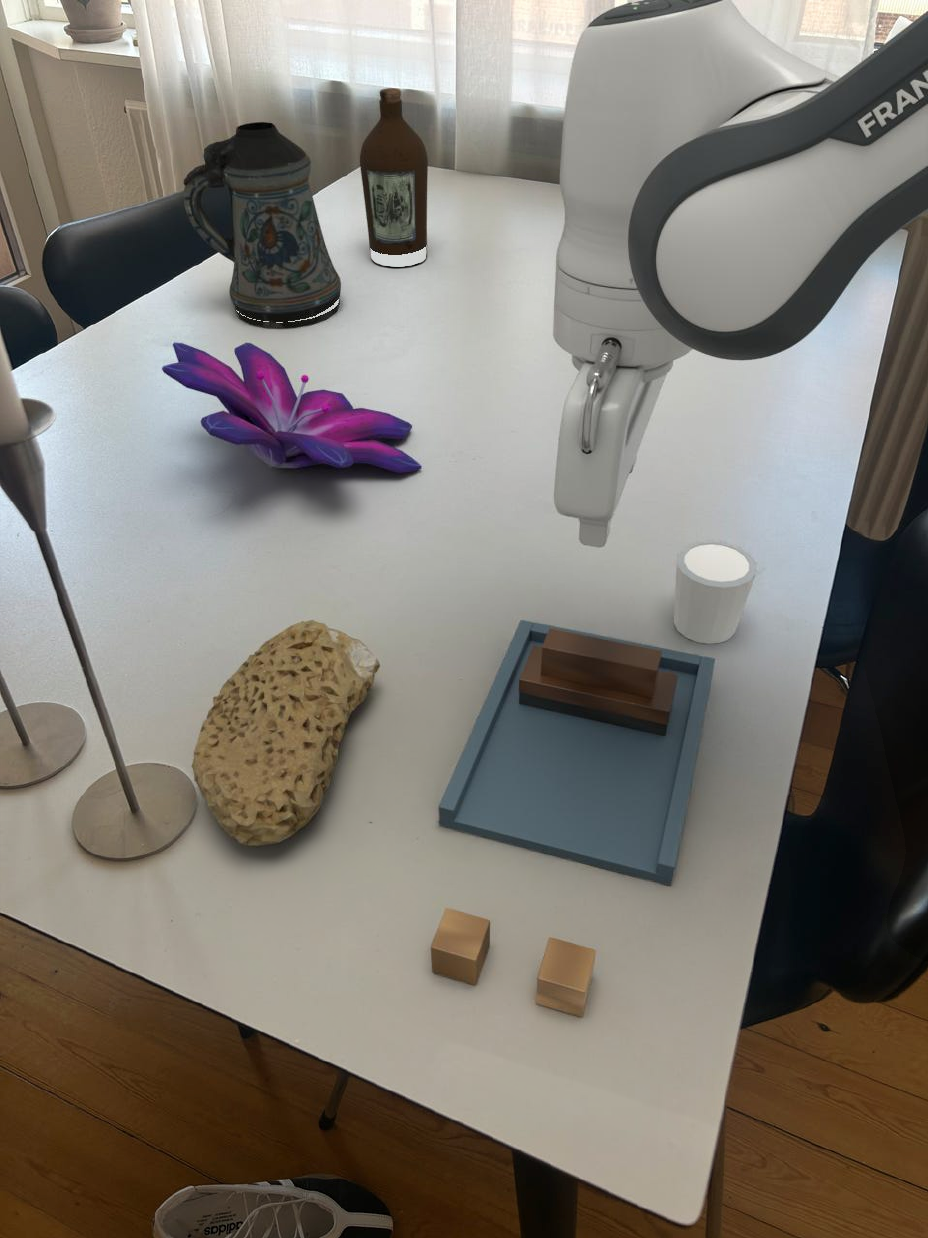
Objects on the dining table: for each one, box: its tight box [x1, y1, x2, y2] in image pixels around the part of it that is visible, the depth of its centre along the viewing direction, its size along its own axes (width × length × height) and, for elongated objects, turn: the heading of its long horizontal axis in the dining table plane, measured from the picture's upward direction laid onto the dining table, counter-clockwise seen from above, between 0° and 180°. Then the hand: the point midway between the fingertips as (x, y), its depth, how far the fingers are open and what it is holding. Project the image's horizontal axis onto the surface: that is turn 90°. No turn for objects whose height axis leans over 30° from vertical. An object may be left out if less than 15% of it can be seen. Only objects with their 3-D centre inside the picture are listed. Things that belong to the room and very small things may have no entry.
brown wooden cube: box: [430, 907, 491, 986], centre depth 62 cm, size 3×3×3 cm
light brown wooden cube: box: [535, 936, 597, 1018], centre depth 60 cm, size 3×3×3 cm
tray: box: [438, 619, 716, 887], centre depth 76 cm, size 17×22×2 cm
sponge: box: [191, 619, 381, 846], centre depth 74 cm, size 13×8×20 cm
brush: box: [519, 628, 678, 736], centre depth 77 cm, size 12×4×6 cm, turn 72°
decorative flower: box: [161, 342, 423, 474], centre depth 108 cm, size 31×31×10 cm
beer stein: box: [182, 121, 342, 330], centre depth 136 cm, size 16×19×25 cm
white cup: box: [673, 539, 758, 645], centre depth 86 cm, size 7×7×7 cm
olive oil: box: [359, 87, 429, 255], centre depth 153 cm, size 11×11×25 cm
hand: (608, 502), depth 67 cm, fingers open, 8 cm apart
